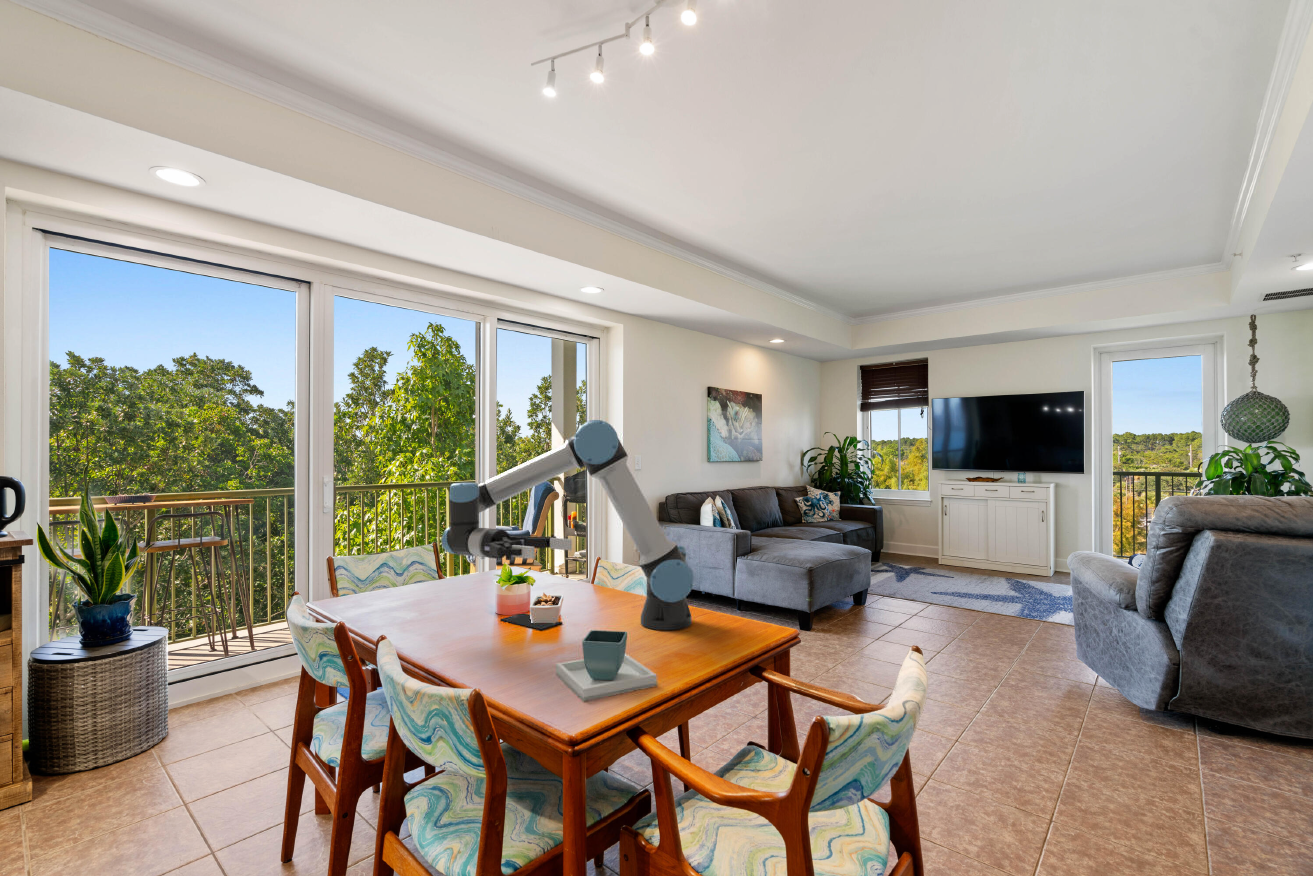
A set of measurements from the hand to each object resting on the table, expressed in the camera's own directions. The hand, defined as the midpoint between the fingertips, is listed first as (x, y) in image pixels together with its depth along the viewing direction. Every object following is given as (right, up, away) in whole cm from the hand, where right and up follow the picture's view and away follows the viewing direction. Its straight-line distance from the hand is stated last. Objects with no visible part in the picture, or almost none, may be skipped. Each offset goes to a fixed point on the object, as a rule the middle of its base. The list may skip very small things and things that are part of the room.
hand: (552, 548), depth 148 cm
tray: (+14, -27, -12) cm, 33 cm away
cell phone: (-12, -29, +34) cm, 46 cm away
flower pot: (+14, -26, -12) cm, 32 cm away
